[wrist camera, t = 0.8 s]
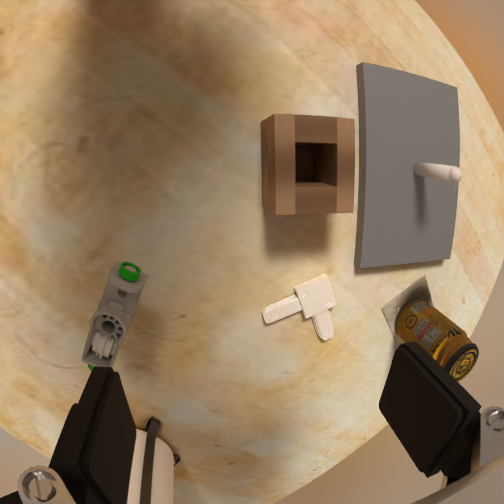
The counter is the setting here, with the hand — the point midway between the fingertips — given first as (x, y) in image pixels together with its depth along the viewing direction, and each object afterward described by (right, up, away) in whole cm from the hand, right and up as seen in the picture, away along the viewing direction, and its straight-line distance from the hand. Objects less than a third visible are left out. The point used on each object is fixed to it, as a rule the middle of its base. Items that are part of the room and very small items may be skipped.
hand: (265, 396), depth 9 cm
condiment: (+21, -4, +28) cm, 36 cm away
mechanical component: (-13, +2, +21) cm, 25 cm away
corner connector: (+5, -3, +26) cm, 27 cm away
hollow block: (+4, +13, +20) cm, 24 cm away
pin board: (+18, +14, +22) cm, 32 cm away
